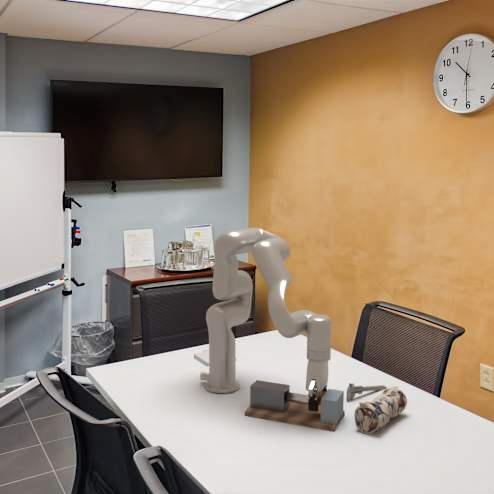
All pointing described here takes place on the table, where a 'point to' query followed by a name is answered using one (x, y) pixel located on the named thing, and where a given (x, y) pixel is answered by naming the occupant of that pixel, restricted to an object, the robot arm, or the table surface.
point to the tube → (303, 399)
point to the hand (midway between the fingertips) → (317, 405)
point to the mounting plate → (204, 357)
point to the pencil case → (380, 410)
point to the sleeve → (269, 396)
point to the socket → (332, 406)
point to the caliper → (360, 390)
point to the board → (294, 416)
